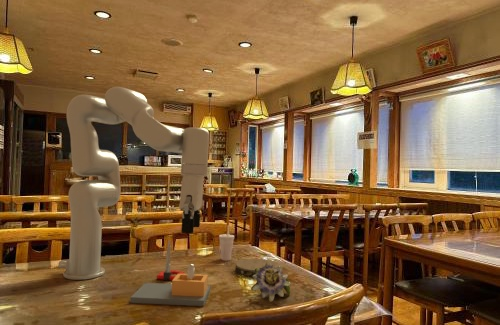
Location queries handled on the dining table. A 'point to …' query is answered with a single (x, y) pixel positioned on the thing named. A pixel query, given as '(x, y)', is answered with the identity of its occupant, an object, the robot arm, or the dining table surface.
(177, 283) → the wooden masu cup
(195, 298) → the board
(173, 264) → the dining table surface
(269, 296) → the passion flower
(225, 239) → the smoothie
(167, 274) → the tow hook
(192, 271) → the post
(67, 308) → the dining table surface
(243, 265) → the wood slice
